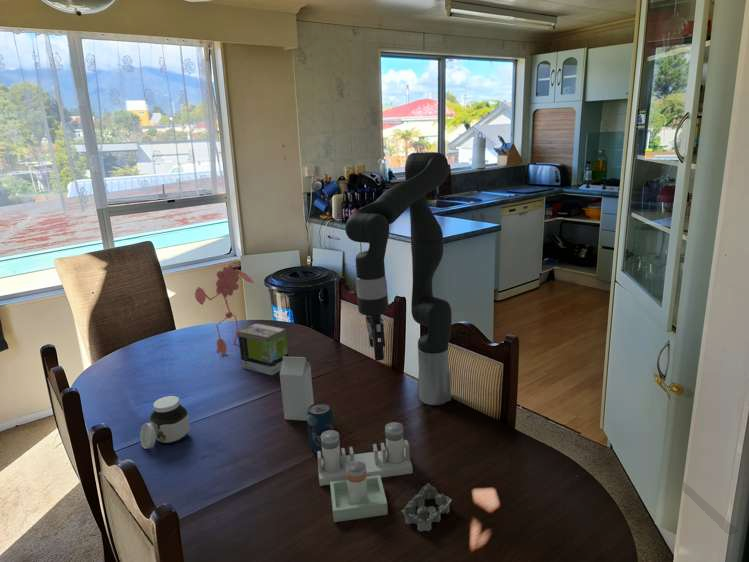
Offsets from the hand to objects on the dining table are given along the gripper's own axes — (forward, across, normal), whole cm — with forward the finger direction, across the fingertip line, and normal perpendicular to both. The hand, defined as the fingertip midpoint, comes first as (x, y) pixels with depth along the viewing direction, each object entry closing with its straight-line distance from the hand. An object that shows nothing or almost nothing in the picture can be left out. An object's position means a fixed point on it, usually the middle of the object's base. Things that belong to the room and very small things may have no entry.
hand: (376, 352), depth 136 cm
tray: (+26, -22, +10) cm, 36 cm away
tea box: (+27, +58, +34) cm, 73 cm away
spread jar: (+26, +16, +60) cm, 68 cm away
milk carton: (+27, +21, +22) cm, 41 cm away
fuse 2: (+25, -10, -1) cm, 27 cm away
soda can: (+27, +2, +16) cm, 32 cm away
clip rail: (+27, -10, +7) cm, 29 cm away
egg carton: (+27, -29, -5) cm, 40 cm away
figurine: (+27, +76, +46) cm, 93 cm away
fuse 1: (+25, -10, +15) cm, 30 cm away
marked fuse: (+26, -22, +10) cm, 35 cm away
